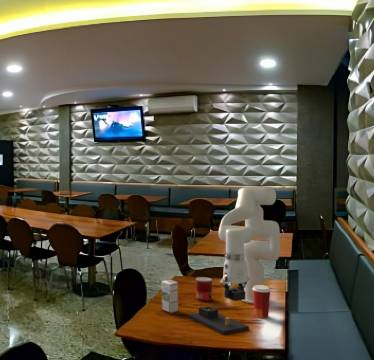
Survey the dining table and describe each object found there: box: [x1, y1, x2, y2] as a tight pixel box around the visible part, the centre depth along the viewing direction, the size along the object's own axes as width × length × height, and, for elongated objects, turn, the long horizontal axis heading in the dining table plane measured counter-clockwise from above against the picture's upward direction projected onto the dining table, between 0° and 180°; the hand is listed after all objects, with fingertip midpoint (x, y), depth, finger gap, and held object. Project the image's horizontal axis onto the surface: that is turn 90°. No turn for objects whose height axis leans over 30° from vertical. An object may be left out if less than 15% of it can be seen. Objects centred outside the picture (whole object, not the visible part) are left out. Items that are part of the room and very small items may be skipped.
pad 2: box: [224, 287, 245, 302], centre depth 195 cm, size 6×6×4 cm
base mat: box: [188, 309, 250, 336], centre depth 201 cm, size 14×22×4 cm, turn 21°
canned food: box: [195, 276, 213, 302], centre depth 235 cm, size 8×8×11 cm
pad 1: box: [198, 305, 219, 319], centre depth 206 cm, size 6×6×4 cm
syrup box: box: [161, 279, 179, 314], centre depth 219 cm, size 6×6×14 cm
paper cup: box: [253, 285, 272, 319], centre depth 209 cm, size 8×8×14 cm
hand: (234, 296), depth 195 cm, fingers closed on pad 2, 6 cm apart
